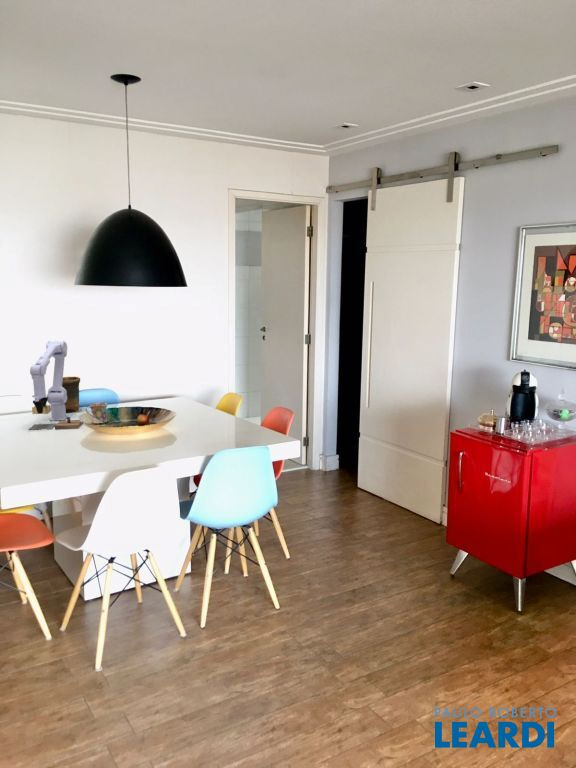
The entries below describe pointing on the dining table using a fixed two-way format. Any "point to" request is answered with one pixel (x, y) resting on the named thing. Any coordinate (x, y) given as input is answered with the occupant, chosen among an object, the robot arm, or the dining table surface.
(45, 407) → the u link
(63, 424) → the peg stand
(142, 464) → the dining table surface
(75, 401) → the vessel
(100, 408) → the mug
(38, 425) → the mat
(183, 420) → the dining table surface
